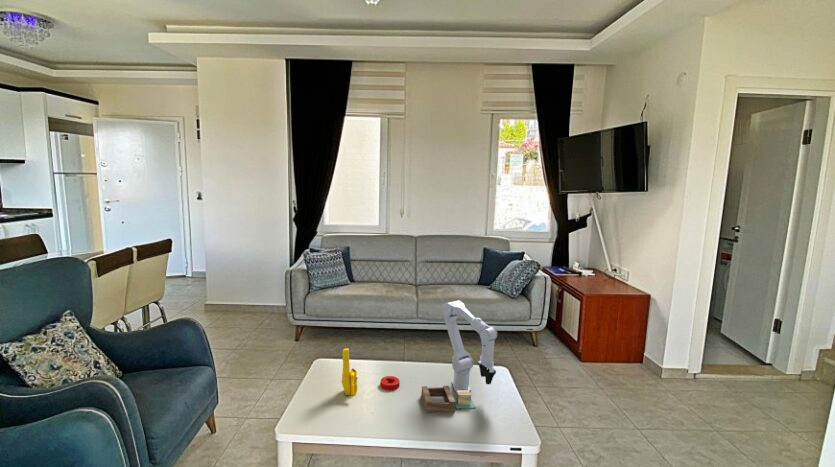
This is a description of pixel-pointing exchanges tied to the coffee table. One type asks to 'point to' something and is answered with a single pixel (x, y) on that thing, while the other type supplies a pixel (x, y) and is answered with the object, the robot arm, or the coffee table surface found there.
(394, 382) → the decorative ornament
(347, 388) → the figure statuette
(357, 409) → the coffee table surface
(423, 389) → the slotted box
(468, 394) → the maple block
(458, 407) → the teal mat
